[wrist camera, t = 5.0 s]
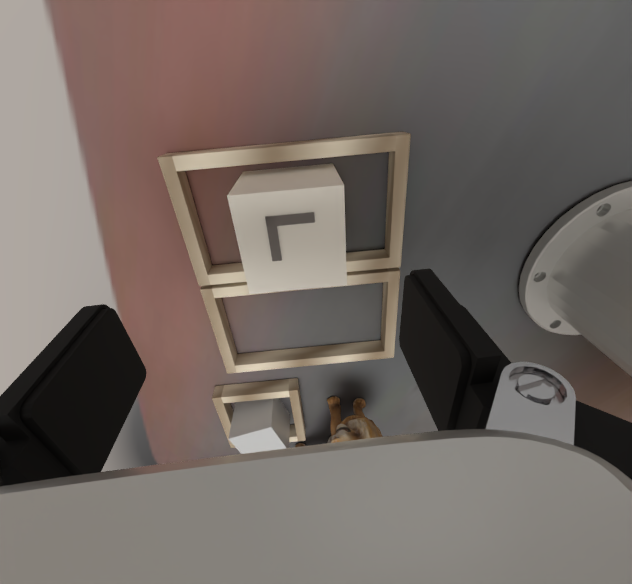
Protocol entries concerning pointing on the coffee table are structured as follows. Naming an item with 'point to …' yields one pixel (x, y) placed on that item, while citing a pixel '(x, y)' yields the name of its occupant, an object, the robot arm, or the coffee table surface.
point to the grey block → (260, 426)
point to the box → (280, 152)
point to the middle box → (307, 354)
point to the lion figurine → (349, 423)
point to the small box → (259, 392)
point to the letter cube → (290, 227)
